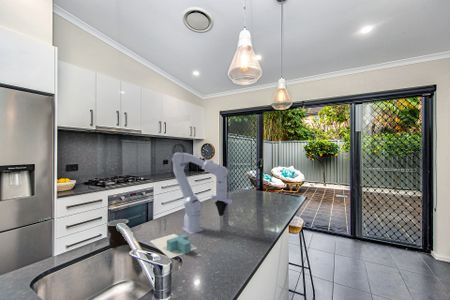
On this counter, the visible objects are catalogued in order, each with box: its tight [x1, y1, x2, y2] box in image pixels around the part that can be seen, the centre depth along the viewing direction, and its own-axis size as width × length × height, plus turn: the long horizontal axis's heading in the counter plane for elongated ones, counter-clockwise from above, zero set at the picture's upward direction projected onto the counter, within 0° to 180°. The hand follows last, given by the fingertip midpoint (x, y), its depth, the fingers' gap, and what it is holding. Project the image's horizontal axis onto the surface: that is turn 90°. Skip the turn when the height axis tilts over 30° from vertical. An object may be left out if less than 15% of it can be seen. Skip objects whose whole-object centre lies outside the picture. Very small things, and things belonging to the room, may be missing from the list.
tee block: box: [167, 234, 192, 255], centre depth 84 cm, size 9×9×4 cm
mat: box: [149, 233, 198, 259], centre depth 89 cm, size 22×13×1 cm, turn 43°
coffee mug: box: [107, 218, 129, 248], centre depth 88 cm, size 12×9×10 cm
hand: (221, 215), depth 102 cm, fingers closed
